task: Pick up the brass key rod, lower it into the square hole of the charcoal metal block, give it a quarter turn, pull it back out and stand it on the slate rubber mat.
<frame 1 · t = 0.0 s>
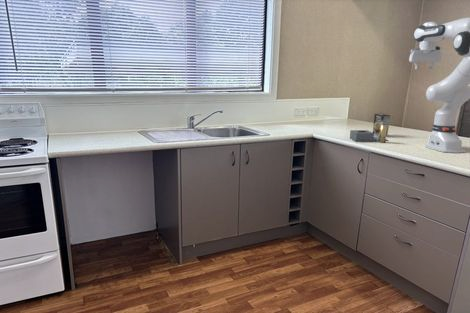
hand: (423, 69, 230), 48 cm above the worktop, tool pointing down, fingers open, 8 cm apart
coffee box: (379, 136, 251), on the worktop
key: (381, 142, 227), on the worktop
mat: (376, 139, 238), on the worktop
chuck block: (361, 140, 235), on the worktop
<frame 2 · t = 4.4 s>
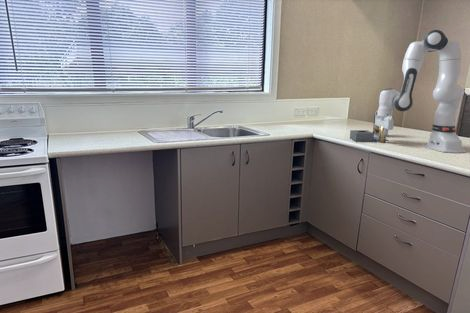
hand: (382, 134, 226), 6 cm above the worktop, tool pointing down, fingers closed on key, 4 cm apart
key: (381, 142, 227), on the worktop, touching gripper
everything else where it was.
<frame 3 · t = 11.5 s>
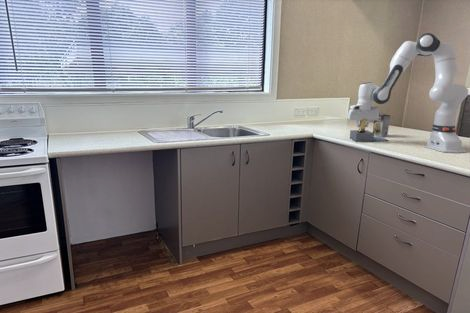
hand: (362, 126, 232), 9 cm above the worktop, tool pointing down, fingers closed on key, 4 cm apart
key: (360, 135, 234), point 3 cm above the worktop, tilted 6°, touching gripper
everything else where it was.
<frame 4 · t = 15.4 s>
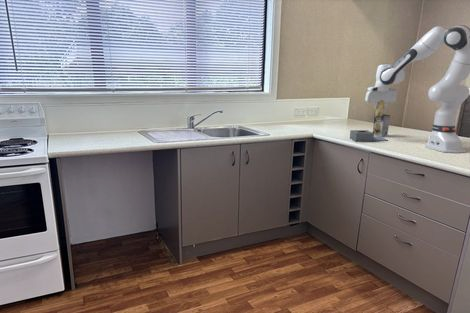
hand: (379, 108, 233), 21 cm above the worktop, tool pointing down, fingers closed on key, 4 cm apart
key: (377, 117, 235), point 15 cm above the worktop, tilted 7°, touching gripper
everything else where it was.
when the fingers open (7 cm above the worktop, at t = 18.7 s): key stays where it is, resting on mat.
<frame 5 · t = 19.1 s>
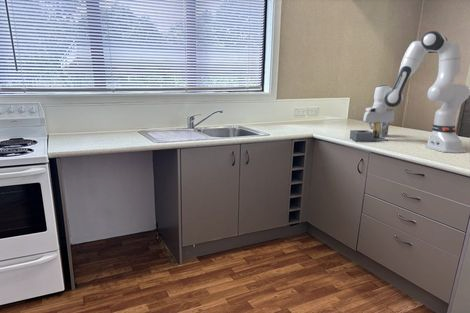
hand: (377, 128, 236), 7 cm above the worktop, tool pointing down, fingers open, 8 cm apart
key: (376, 137, 238), point 1 cm above the worktop, touching mat
everything else where it was.
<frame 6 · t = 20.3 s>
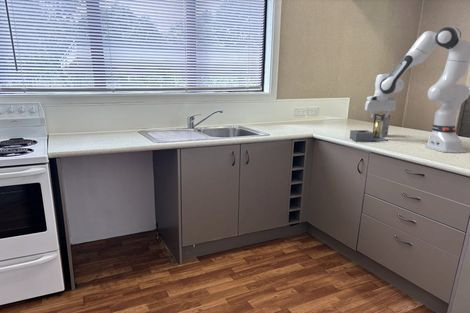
hand: (379, 117, 234), 15 cm above the worktop, tool pointing down, fingers open, 8 cm apart
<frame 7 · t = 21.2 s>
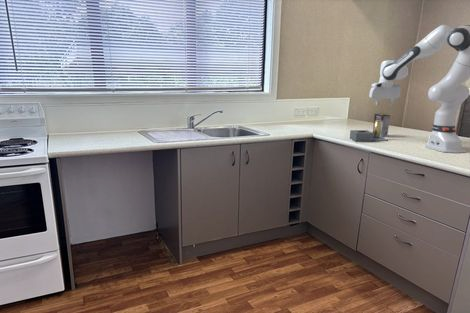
hand: (383, 104, 233), 24 cm above the worktop, tool pointing down, fingers open, 8 cm apart
nothing on the worktop moved.
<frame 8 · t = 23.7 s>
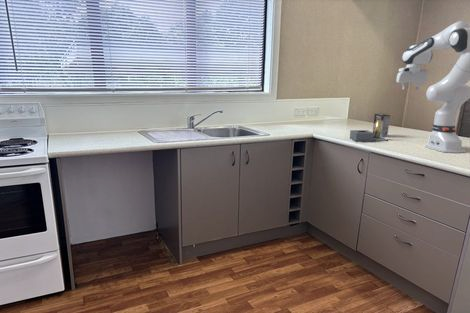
hand: (410, 89, 238), 34 cm above the worktop, tool pointing down, fingers open, 8 cm apart
at the end: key inside the target area (0.7 cm from its centre), point 1.0 cm above the worktop; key tilted 5°; the gripper is holding nothing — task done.
